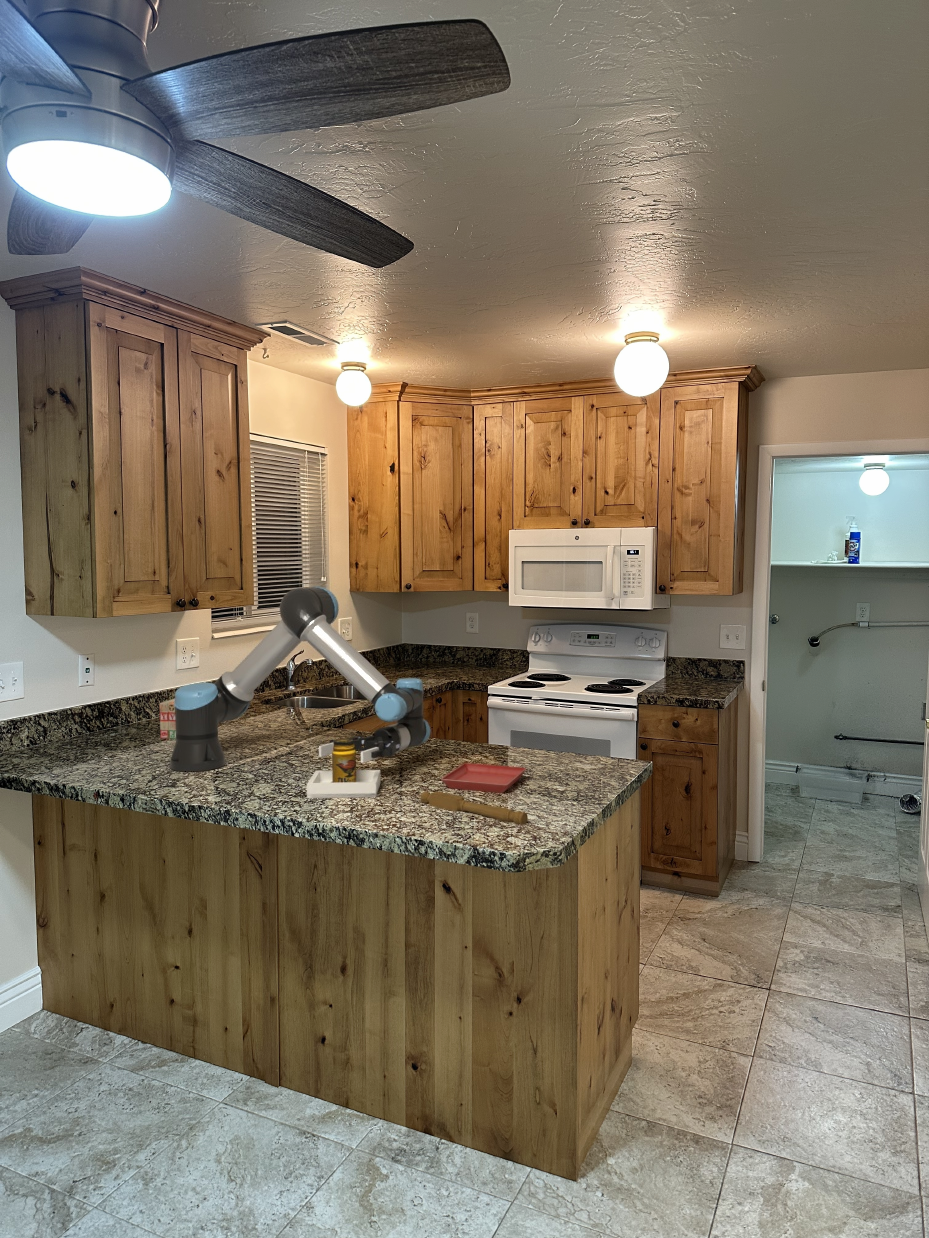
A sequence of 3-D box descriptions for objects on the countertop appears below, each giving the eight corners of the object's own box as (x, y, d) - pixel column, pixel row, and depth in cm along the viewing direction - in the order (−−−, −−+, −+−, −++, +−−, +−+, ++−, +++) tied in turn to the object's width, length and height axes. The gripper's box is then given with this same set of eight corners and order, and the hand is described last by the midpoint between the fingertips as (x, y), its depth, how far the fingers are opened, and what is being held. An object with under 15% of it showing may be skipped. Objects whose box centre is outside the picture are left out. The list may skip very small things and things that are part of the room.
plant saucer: (507, 796, 207) (507, 783, 207) (439, 790, 213) (439, 778, 213) (527, 779, 224) (527, 767, 224) (464, 774, 230) (464, 762, 230)
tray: (307, 798, 205) (306, 784, 205) (316, 783, 219) (315, 770, 219) (376, 797, 206) (375, 783, 206) (380, 782, 220) (380, 769, 220)
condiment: (349, 790, 208) (349, 743, 208) (320, 788, 211) (319, 741, 210) (363, 783, 215) (362, 738, 214) (334, 781, 218) (333, 735, 217)
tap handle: (520, 813, 182) (417, 791, 200) (520, 827, 182) (417, 804, 201) (528, 810, 184) (425, 788, 203) (528, 824, 184) (425, 801, 203)
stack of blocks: (191, 727, 303) (191, 693, 302) (207, 727, 302) (206, 693, 301) (160, 738, 282) (159, 702, 281) (177, 739, 281) (176, 703, 280)
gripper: (428, 758, 222) (380, 774, 204) (354, 748, 235) (303, 763, 217) (427, 730, 222) (380, 744, 204) (354, 722, 235) (303, 735, 217)
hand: (340, 754), depth 210 cm, fingers open, 13 cm apart
